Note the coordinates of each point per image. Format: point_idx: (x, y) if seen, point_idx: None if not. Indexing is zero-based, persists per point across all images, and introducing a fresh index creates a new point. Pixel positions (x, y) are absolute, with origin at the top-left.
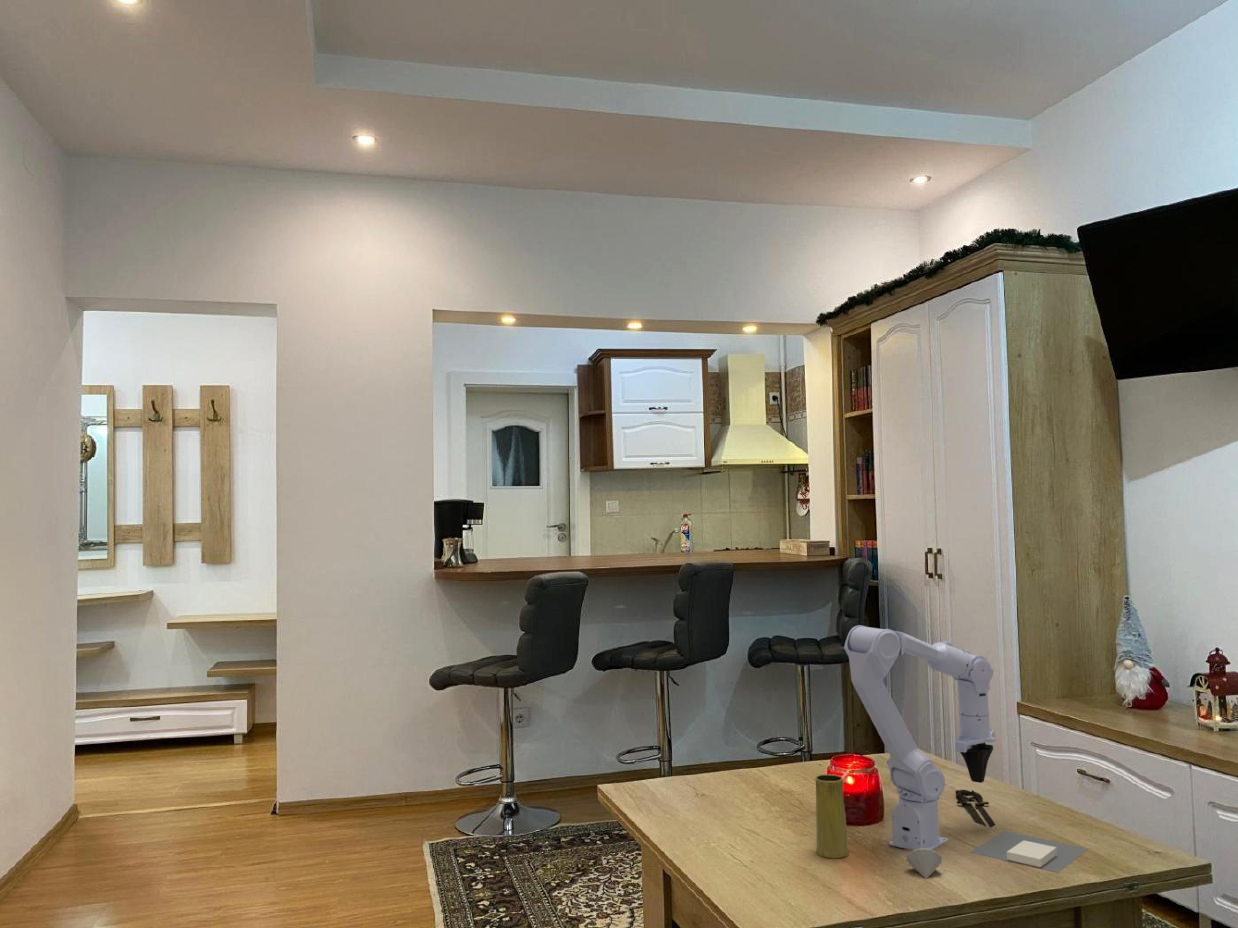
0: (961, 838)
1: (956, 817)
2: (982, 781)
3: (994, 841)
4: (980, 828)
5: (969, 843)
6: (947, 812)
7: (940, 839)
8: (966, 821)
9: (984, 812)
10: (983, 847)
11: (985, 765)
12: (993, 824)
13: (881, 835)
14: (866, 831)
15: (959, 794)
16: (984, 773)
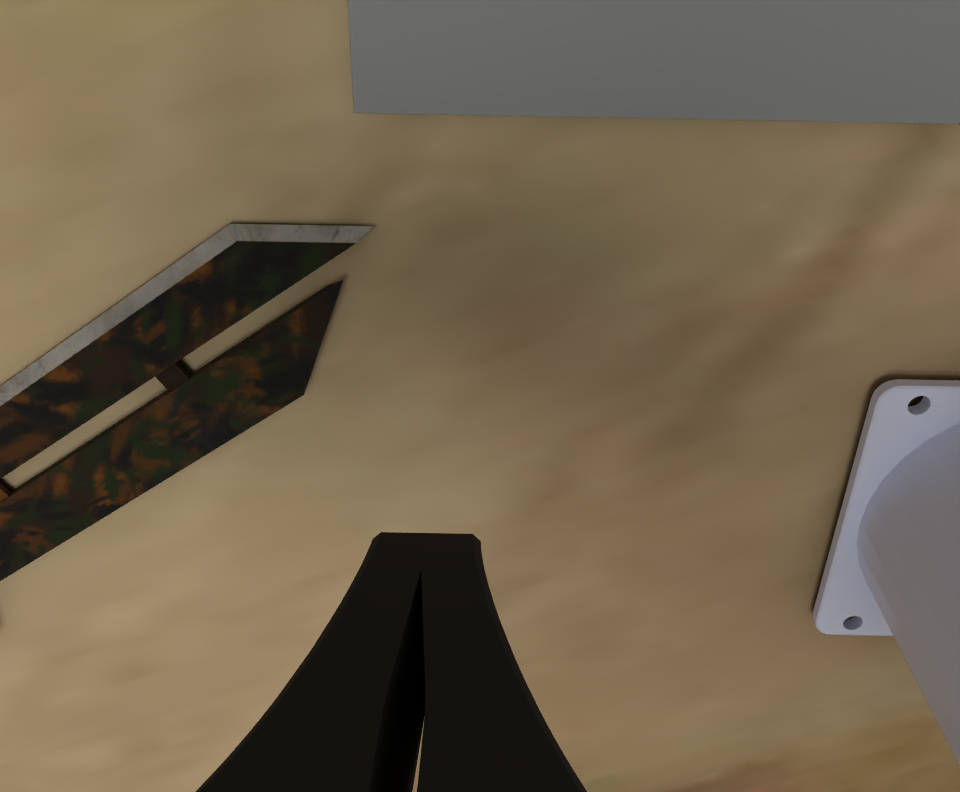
0: (736, 332)
1: (258, 538)
2: (430, 537)
3: (726, 61)
4: (386, 313)
5: (833, 236)
6: (198, 617)
7: (931, 423)
8: (294, 455)
9: (4, 429)
10: (957, 77)
11: (365, 702)
12: (252, 256)
13: None
14: (906, 789)
15: None
16: (392, 602)
